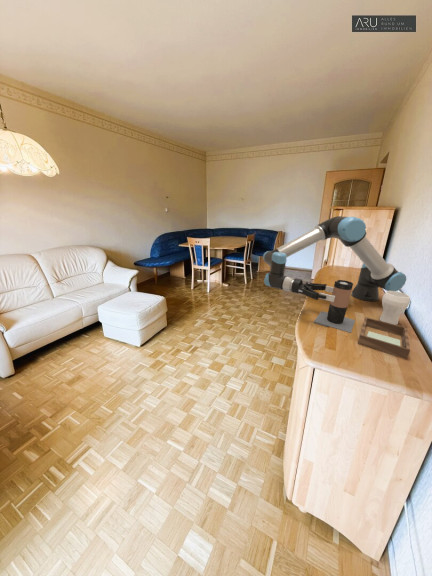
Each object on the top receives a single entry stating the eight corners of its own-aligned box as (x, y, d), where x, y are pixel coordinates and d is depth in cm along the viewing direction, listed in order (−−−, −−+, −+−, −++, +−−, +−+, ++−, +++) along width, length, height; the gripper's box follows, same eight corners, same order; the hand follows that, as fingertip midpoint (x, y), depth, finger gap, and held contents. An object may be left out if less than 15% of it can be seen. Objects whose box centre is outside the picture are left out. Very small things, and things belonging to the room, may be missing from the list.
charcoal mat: (321, 312, 123) (321, 310, 122) (354, 321, 114) (355, 320, 114) (313, 322, 110) (313, 321, 110) (350, 334, 102) (350, 332, 101)
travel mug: (345, 325, 108) (356, 285, 101) (328, 323, 109) (337, 284, 102) (340, 318, 115) (350, 280, 108) (324, 316, 116) (333, 279, 109)
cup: (379, 323, 113) (388, 295, 108) (373, 315, 122) (381, 289, 117) (404, 328, 109) (415, 299, 104) (397, 319, 119) (406, 292, 114)
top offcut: (367, 333, 99) (368, 331, 98) (399, 342, 93) (400, 340, 92) (366, 341, 93) (367, 338, 92) (399, 351, 87) (400, 348, 86)
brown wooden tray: (362, 325, 110) (365, 316, 109) (403, 336, 102) (407, 327, 100) (357, 344, 94) (360, 335, 92) (406, 360, 85) (410, 350, 83)
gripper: (299, 286, 131) (339, 295, 119) (283, 298, 111) (330, 310, 100) (301, 273, 128) (343, 281, 116) (285, 283, 109) (333, 294, 97)
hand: (337, 295), depth 108 cm, fingers open, 13 cm apart
